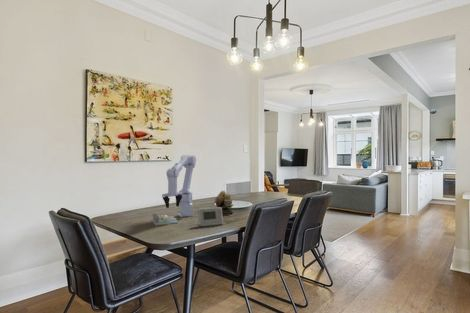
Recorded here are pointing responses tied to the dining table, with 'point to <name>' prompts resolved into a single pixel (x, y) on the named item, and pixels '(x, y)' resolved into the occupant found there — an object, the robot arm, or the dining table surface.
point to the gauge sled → (163, 217)
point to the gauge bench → (163, 220)
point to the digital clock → (210, 216)
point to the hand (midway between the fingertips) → (172, 207)
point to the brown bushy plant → (224, 202)
